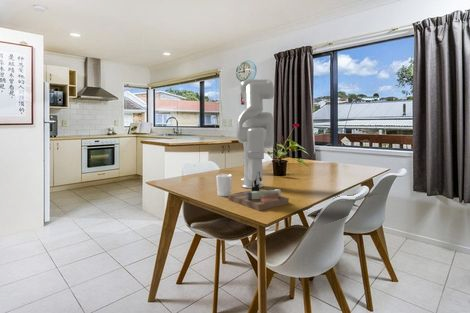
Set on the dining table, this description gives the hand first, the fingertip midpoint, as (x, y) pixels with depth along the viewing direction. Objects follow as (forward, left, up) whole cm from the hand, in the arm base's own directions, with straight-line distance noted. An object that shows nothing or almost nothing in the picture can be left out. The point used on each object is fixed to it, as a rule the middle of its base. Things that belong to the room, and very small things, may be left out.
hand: (255, 195), depth 131 cm
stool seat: (-1, +2, -4) cm, 4 cm away
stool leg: (+4, +2, -1) cm, 4 cm away
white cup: (-21, -3, -4) cm, 21 cm away
